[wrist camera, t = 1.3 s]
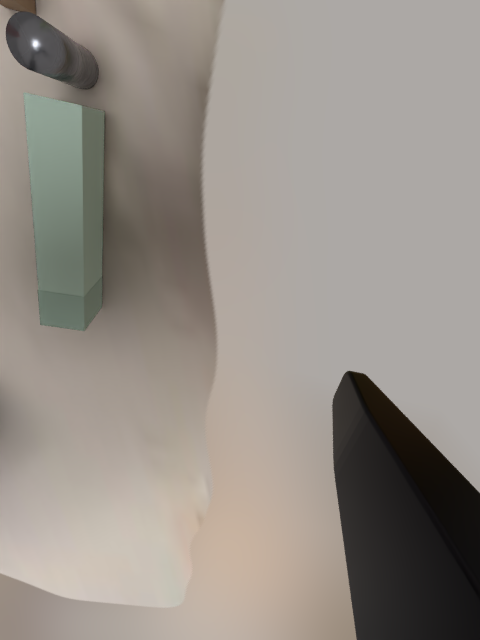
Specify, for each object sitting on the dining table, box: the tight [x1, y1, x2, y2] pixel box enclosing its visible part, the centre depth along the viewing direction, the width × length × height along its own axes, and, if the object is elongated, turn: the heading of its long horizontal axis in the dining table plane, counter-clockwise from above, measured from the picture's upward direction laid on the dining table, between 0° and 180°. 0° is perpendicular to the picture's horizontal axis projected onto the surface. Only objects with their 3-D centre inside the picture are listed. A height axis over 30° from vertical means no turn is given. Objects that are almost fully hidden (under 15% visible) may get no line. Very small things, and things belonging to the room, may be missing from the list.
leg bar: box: [24, 93, 105, 331], centre depth 17 cm, size 10×2×3 cm, turn 169°
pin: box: [6, 12, 98, 89], centre depth 14 cm, size 2×2×4 cm
